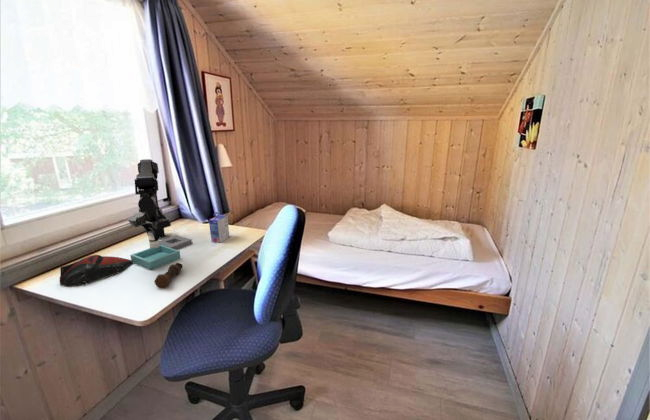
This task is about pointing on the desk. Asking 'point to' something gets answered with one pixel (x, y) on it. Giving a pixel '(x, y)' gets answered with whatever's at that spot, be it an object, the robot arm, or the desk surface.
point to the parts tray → (155, 257)
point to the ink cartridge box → (219, 228)
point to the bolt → (168, 275)
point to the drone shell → (91, 269)
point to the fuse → (153, 241)
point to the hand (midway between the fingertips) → (153, 239)
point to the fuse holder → (179, 242)
